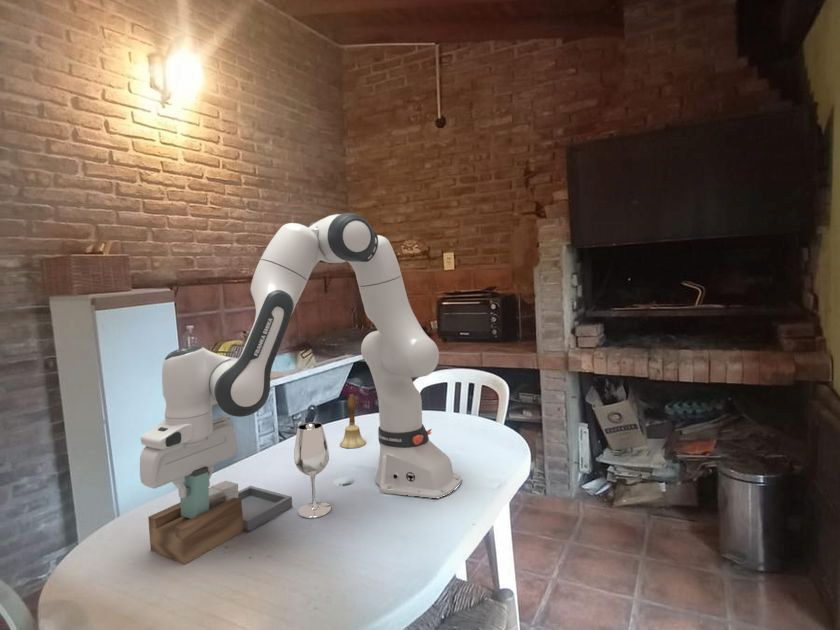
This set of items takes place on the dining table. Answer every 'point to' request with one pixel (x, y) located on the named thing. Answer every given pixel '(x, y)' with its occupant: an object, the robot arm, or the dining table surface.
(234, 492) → the steel block
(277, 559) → the dining table surface
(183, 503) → the green grey block
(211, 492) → the steel block
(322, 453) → the wineglass
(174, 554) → the groove board
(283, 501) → the tray
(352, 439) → the hand bell
